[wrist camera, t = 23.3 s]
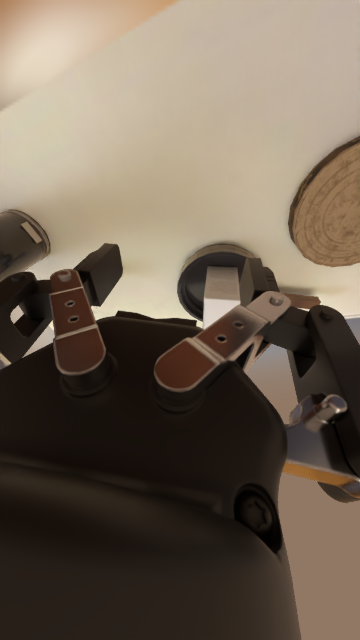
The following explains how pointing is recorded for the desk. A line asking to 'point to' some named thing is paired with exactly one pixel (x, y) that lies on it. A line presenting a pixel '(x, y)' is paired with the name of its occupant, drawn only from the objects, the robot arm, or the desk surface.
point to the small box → (220, 293)
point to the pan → (196, 272)
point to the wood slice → (329, 209)
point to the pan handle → (303, 300)
